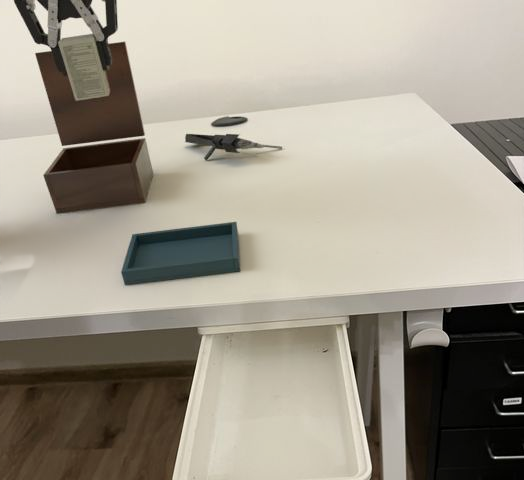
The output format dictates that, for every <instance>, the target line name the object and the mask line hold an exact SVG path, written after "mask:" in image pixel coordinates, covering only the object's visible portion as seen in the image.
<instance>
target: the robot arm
mask: <svg viewBox="0 0 524 480" xmlns="http://www.w3.org/2000/svg"><path fill="white" fill-rule="evenodd" d="M35 1H37V2H38V4H40V6H42V7H43V9H45V10H46V11H47V33H45V31H44V28H43V26H42V25H41V23H40V20H39V18H38V16H37V15H36V12H35V10H36V8H37V6H36V2H35ZM101 1H102V2H103V3H104V4H105V5H104V6H105V22H106V23H105V26H103V25H102V23H101V22H100V20H99V17H98V15H97V14H96V12H95V10H94V9H93V7H92V3H93V0H13V3H14V5H15V7H16V8H17V11H18V12H19V14H20V16H21V18H22V20H23V22H24V24H25V26H26V28H27V30H28V32H29V34H30V36H31V37H32V39H33V42H34V43H35V44H37V45H44V46H47V47H49V49H50V51H52V54H53V57H54V61H55V64H56V67H57V69H58V71H59V72H62V73H63V76H68V74H67V70H66V67H65V64H64V60H63V57H62V54H61V51H60V47H59V44H58V42H59V41H60V40H61V39H62V37H61V36H62V27H63V21H66V20H68V19H70V18H71V19H82V20H83V22H84V23H85V25H86V26H87V27H88V28H89V29H90V31H91V34H94V36H95V38H96V39H97V42H96V45H97V49H98V53H99V57H100V61H101V65H102V69H103V71H106V70H109V69H110V66H109V65H111V64H112V56H111V52H110V48H109V44H110V43H109V38H110V36H112V35H114V34H115V33H117V32H118V29H119V23H118V0H101Z"/></svg>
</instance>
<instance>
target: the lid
mask: <svg viewBox="0 0 524 480" xmlns="http://www.w3.org/2000/svg"><path fill="white" fill-rule="evenodd" d="M108 44H109V48H110V52H111V56H112V64H111V65H109V66H110V69H109V70H106V71H105V72H106V76H107V80H108V83H109V87H110V93H109V95H108V96H103V97H98V98H90V99H85V100H77V101H76V100H75V97H74V94H73V90H72V87H71V84H70V81H69V77H68V76H63V73H62V72H59V71H58V69H57V67H56V64H55V61H54V57H53V54H52V51H51V50H47V51H40V52H35V53H34V54H35V58H36V62H37V66H38V69H39V71H40V75H41V79H42V82H43V85H44V89H45V93H46V96H47V100H48V104H49V106H50V109H51V113H52V116H53V120H54V123H55V127H56V130H57V133H58V137H59V141H60V144H61V146H62V147H65V146H73V145H83V144H90V143H99V142H108V141H113V140H121V139H122V140H123V139H130V138H139V137H145V136H146V132H145V129H144V123H143V119H142V114H141V109H140V104H139V100H138V95H137V90H136V86H135V82H134V81H135V80H134V75H133V71H132V68H131V62H130V58H129V52H128V47H127V43H126V41H119V42H110V43H108Z"/></svg>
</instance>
